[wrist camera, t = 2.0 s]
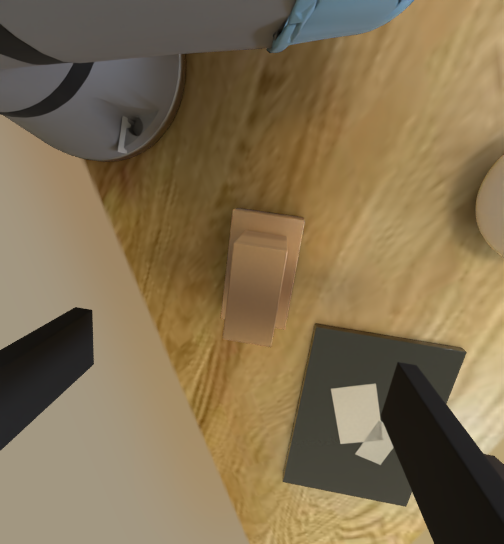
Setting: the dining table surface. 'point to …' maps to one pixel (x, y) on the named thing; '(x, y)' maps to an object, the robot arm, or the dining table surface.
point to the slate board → (357, 411)
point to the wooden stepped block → (259, 274)
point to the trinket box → (492, 207)
